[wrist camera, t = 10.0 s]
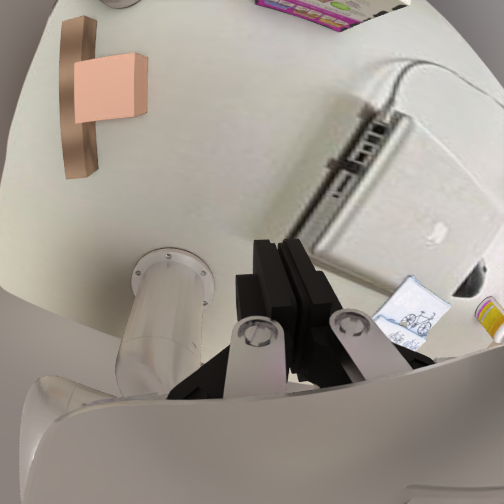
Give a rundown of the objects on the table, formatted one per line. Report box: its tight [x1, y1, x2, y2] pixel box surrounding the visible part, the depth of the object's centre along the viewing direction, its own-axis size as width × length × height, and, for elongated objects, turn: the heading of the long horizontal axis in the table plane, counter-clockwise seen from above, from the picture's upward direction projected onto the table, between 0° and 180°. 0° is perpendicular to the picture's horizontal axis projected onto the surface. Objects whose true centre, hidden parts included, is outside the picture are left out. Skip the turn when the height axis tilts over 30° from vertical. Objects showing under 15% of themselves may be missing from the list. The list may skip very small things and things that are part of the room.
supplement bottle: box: [476, 297, 504, 344], centre depth 52 cm, size 7×7×13 cm
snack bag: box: [371, 275, 451, 351], centre depth 55 cm, size 19×20×2 cm
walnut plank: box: [59, 16, 98, 179], centre depth 28 cm, size 20×3×4 cm, turn 177°
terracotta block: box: [74, 53, 148, 124], centre depth 28 cm, size 7×7×6 cm
